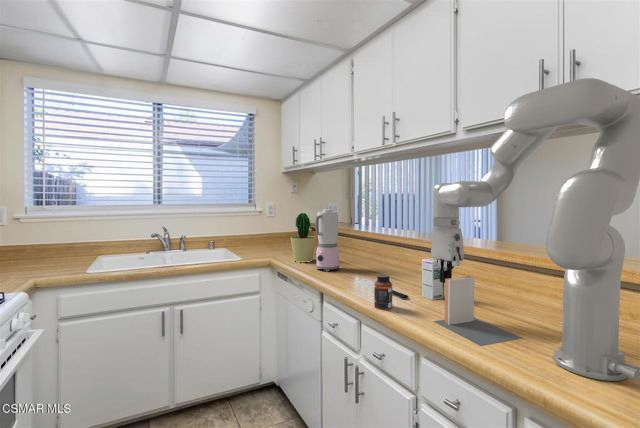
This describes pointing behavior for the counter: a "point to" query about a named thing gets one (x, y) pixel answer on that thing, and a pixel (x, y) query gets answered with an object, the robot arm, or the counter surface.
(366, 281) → the kitchen cleaver
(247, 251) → the counter surface
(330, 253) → the blender
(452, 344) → the counter surface
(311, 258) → the potted cactus
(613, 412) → the counter surface
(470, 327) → the mat
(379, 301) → the supplement bottle
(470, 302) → the tile
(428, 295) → the syrup box
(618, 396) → the counter surface
